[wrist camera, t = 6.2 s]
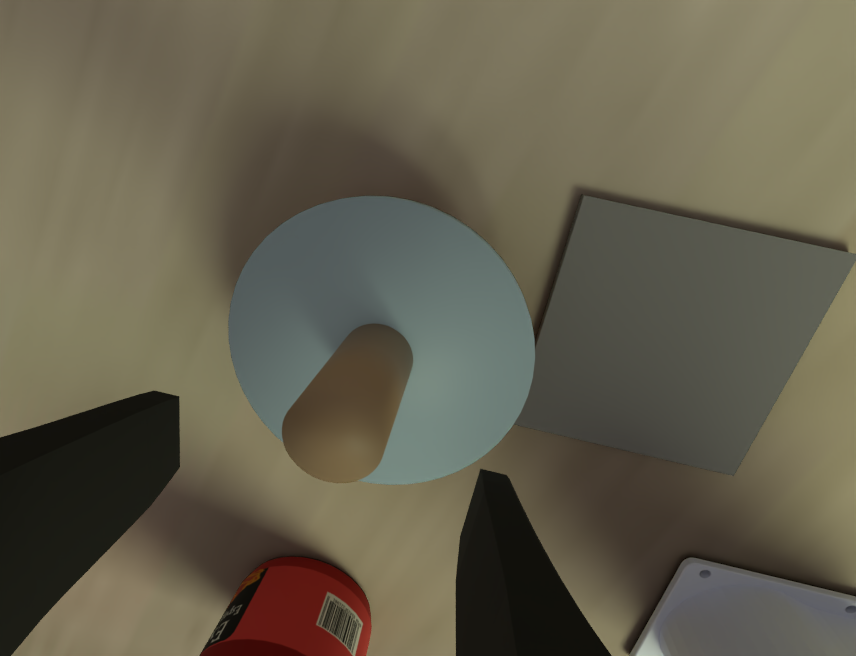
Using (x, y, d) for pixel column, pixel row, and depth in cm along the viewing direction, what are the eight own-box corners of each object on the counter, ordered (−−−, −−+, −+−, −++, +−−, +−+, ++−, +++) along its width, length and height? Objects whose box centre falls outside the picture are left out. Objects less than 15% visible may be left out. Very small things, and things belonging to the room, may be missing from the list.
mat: (850, 252, 16) (859, 254, 15) (728, 469, 19) (733, 475, 19) (581, 194, 16) (584, 195, 16) (510, 419, 20) (511, 423, 19)
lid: (577, 239, 14) (639, 279, 8) (486, 502, 18) (491, 642, 12) (246, 161, 14) (109, 153, 9) (229, 437, 18) (127, 546, 13)
